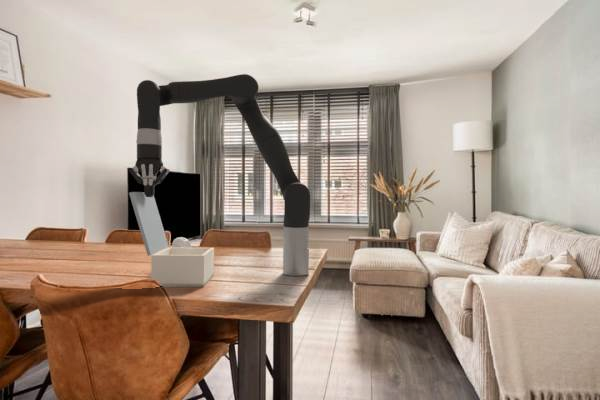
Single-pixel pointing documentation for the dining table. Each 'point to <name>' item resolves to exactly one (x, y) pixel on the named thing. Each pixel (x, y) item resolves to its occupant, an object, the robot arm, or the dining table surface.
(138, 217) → the carton lid
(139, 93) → the robot arm
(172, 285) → the carton
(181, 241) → the white rounded piece
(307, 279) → the dining table surface
